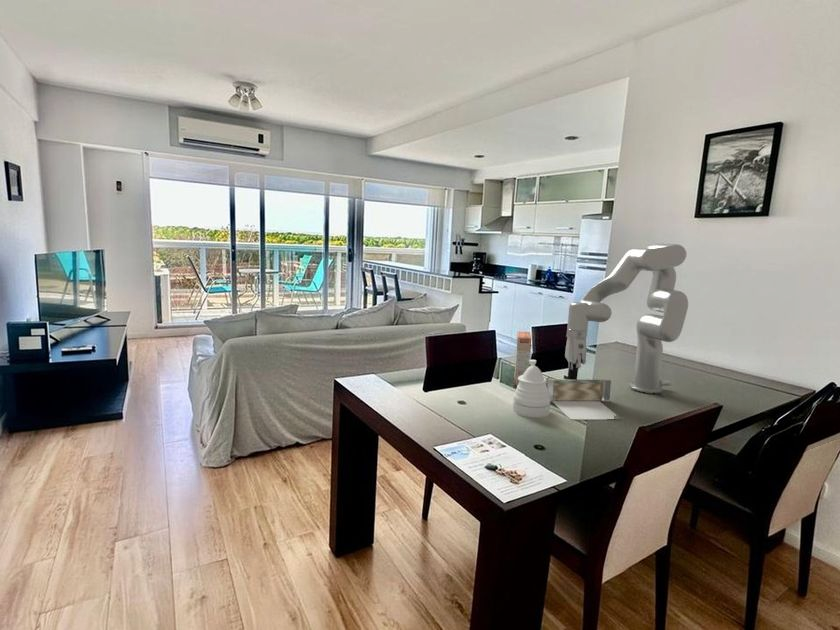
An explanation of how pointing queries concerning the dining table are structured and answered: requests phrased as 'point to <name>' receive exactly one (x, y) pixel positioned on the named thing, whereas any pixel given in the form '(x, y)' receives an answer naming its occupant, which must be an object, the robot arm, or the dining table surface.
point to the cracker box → (522, 354)
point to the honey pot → (532, 393)
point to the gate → (578, 389)
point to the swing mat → (585, 410)
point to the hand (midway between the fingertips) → (572, 379)
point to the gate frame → (604, 399)
